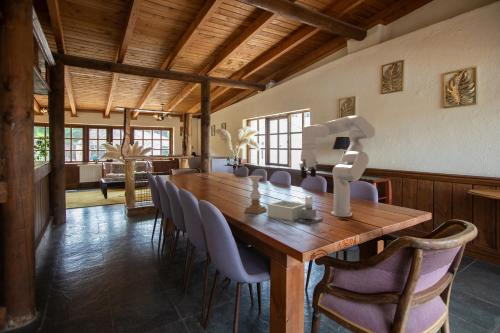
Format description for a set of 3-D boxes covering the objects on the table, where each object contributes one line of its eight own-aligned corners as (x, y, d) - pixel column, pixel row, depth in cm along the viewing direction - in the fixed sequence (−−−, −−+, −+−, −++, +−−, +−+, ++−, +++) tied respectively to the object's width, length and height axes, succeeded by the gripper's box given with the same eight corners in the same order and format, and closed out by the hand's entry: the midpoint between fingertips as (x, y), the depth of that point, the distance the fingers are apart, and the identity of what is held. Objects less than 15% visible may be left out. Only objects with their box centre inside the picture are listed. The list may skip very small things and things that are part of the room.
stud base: (307, 217, 167) (307, 207, 167) (322, 220, 160) (322, 209, 160) (294, 222, 157) (294, 211, 157) (309, 225, 150) (309, 214, 150)
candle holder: (253, 209, 191) (253, 175, 189) (266, 211, 185) (266, 175, 183) (244, 212, 182) (243, 176, 180) (257, 214, 176) (257, 177, 174)
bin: (283, 212, 181) (283, 200, 180) (307, 216, 168) (307, 204, 168) (268, 216, 169) (267, 204, 169) (292, 222, 157) (292, 208, 156)
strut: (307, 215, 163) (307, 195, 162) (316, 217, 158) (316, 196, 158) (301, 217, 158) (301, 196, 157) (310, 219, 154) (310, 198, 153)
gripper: (311, 147, 164) (310, 175, 165) (294, 147, 152) (294, 178, 153) (322, 147, 159) (322, 176, 160) (306, 147, 147) (306, 179, 148)
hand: (308, 177), depth 157 cm, fingers open, 9 cm apart
